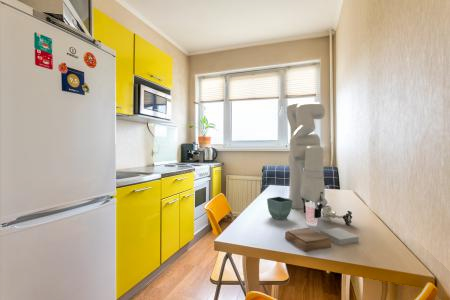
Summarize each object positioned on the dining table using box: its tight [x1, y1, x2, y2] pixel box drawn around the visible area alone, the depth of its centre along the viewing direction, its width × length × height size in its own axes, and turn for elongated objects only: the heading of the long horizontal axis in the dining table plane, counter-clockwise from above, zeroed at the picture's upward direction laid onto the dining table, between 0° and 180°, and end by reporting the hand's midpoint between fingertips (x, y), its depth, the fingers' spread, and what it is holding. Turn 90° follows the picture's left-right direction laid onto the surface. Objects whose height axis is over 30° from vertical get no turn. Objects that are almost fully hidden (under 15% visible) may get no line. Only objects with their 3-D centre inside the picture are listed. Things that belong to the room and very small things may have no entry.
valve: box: [321, 204, 353, 227], centre depth 101 cm, size 7×7×12 cm
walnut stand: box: [284, 227, 332, 253], centre depth 79 cm, size 11×11×3 cm
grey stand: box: [320, 227, 360, 246], centre depth 83 cm, size 9×9×2 cm
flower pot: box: [266, 196, 293, 221], centre depth 105 cm, size 9×9×9 cm
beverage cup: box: [305, 201, 319, 227], centre depth 97 cm, size 6×6×14 cm
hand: (312, 214), depth 97 cm, fingers closed on beverage cup, 6 cm apart
